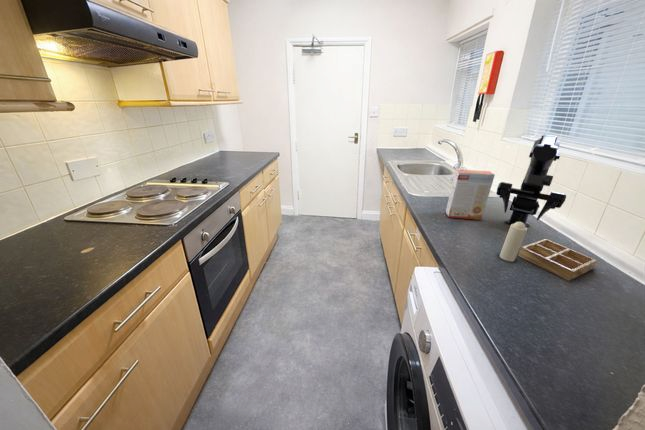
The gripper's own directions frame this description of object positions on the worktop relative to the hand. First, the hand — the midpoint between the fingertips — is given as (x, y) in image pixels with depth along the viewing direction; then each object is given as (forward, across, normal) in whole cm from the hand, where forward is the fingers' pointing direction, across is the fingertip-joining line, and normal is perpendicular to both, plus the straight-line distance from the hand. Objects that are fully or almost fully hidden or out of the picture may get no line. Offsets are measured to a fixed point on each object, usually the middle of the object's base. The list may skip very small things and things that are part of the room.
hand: (520, 215), depth 90 cm
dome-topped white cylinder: (+15, 0, +4) cm, 15 cm away
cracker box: (-3, -20, +23) cm, 30 cm away
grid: (+9, +13, +9) cm, 18 cm away
